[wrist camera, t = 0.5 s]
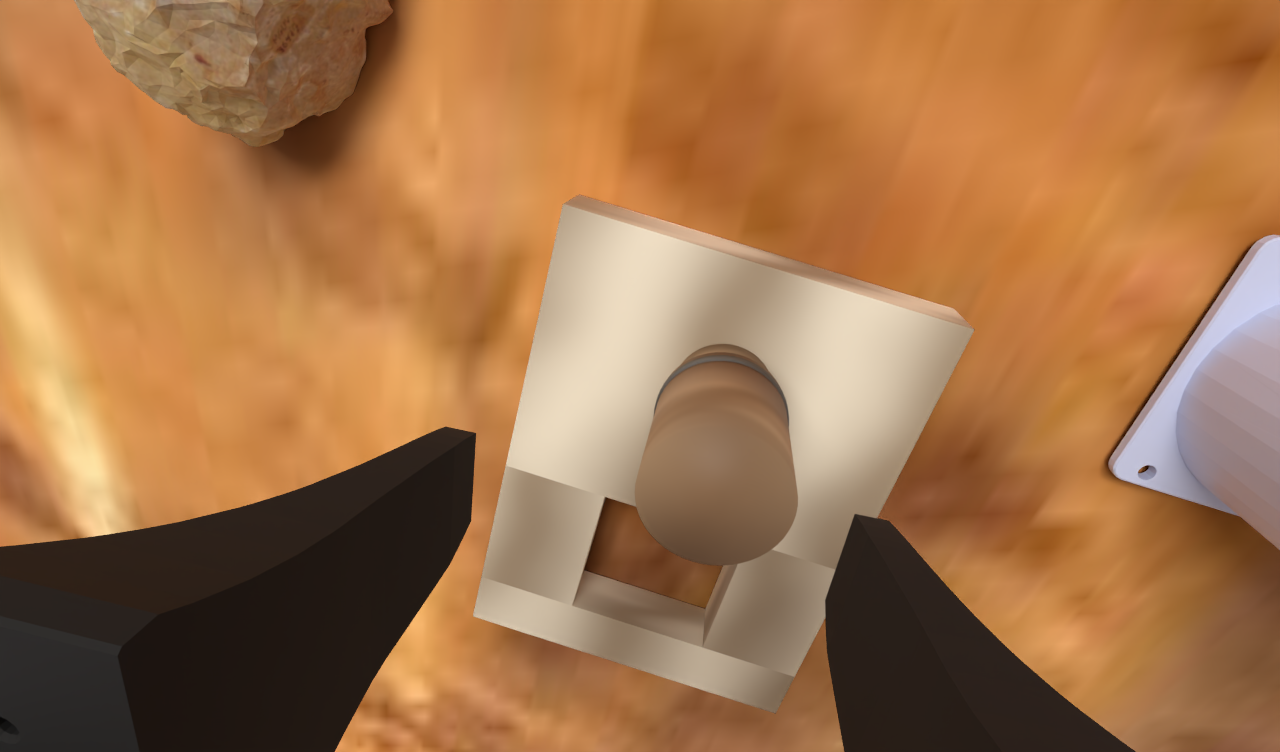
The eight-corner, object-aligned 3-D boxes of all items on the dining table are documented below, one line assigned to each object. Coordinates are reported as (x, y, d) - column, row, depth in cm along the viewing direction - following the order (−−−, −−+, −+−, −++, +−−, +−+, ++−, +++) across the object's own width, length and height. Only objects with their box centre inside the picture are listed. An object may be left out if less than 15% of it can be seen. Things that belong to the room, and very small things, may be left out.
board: (953, 308, 20) (974, 329, 18) (773, 671, 27) (775, 713, 25) (579, 194, 20) (563, 204, 19) (491, 581, 27) (473, 616, 25)
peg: (802, 354, 19) (826, 455, 14) (760, 458, 21) (766, 587, 15) (681, 317, 19) (658, 403, 14) (648, 423, 21) (614, 538, 16)
